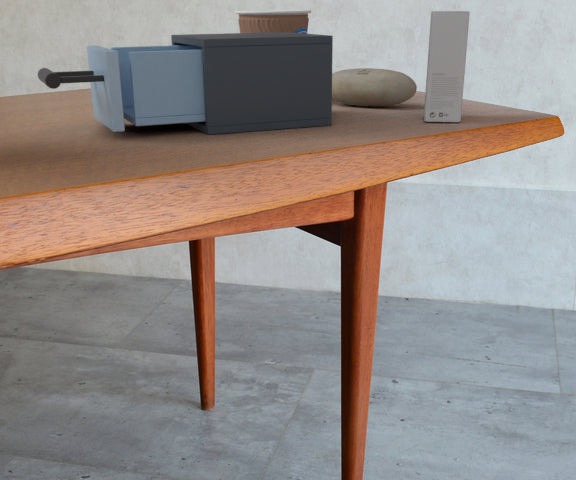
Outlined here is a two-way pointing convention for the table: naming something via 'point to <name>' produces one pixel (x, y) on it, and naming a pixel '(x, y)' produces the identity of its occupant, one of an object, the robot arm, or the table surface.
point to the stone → (372, 87)
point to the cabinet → (264, 80)
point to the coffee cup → (273, 21)
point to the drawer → (140, 84)
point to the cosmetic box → (446, 66)
